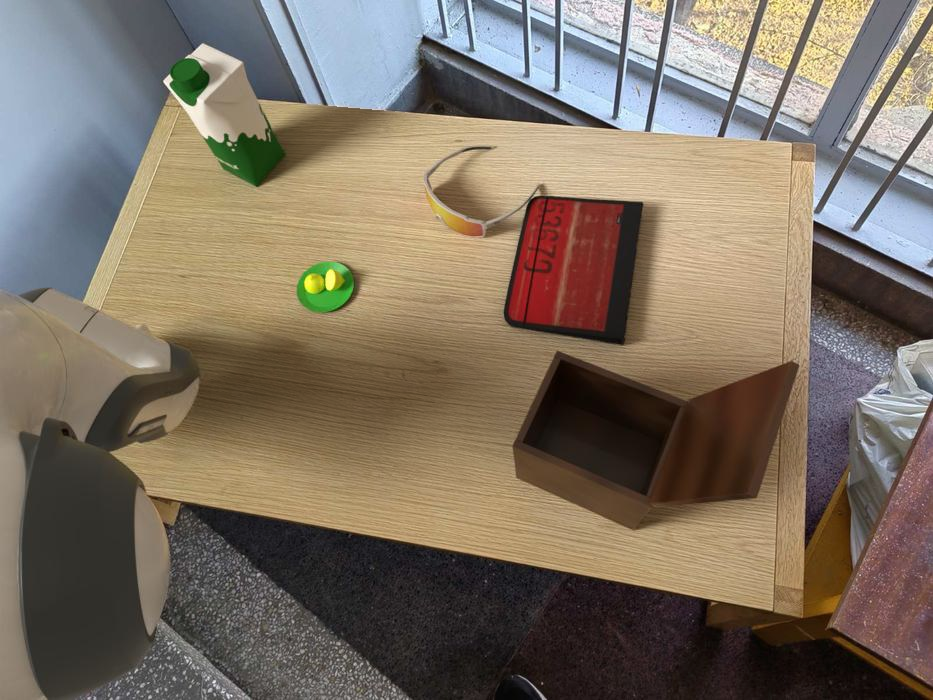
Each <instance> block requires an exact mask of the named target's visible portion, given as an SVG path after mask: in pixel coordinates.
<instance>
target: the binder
mask: <svg viewBox="0 0 933 700" xmlns="http://www.w3.org/2000/svg"><path fill="white" fill-rule="evenodd" d="M643 208H644V201H632V200H615V199H597V198H583V197H570V196H553V195H536V196H533V197H532V198H531V199H530V200H529V201H528V202H527V204H526V208H525V211H524V217H523V220H522V223H521V229H520V231H519V232H520V233H519V237H518V242H517V246H516V249H515V255H514V260H513V264H512V269H511V273H510V277H509V281H508V287H507V292H506V296H505V302H504V307H503V319H504V321H505V323H506V324H507V325H509V326H510V327H512V328H516V329H521V330H527V331H533V332H538V333H545V334H552V335H559V336H565V337H569V338H570V337H571V338H575V339H582V340H589V341H592V342H593V341H594V342H601V343H605V344H606V343H607V344H613V345H619V346H623V345H625V343H626V334H627V324H628V317H629V309H630V303H631V296H632V287H633V282H634V281H633V280H634V274H635V265H636V257H637V251H638V242H639V237H640V229H641V223H642V216H643V211H644V210H643Z"/></svg>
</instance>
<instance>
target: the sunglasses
mask: <svg viewBox="0 0 933 700" xmlns="http://www.w3.org/2000/svg"><path fill="white" fill-rule="evenodd" d="M493 148H494V146H493V145H471V146H466V147H461V148H460V149H458V150H455V151H454V152H452V153H449V154H448V155H446V156H444V157H443V158H441V159H439V160H438V161H436V162H435V163H433V164H432V165H431V166H430V167H429V168H428V169H427V170H426V171H424V173H423V185H424V190H425V194H426V195H425V196H426V199H427V202H428V204H429V207H430V208H431V211H432V213H433V215H434V217H435V218H436V219H438V218H439V220H440V221H441V223H443V225H444V226H445V227H446V228H447V229H448V230H449V231H451V232H453V233H454V234H456V235H459V236H463V237H466V238H473V239H483V238H485V237H486V236H487V233H488V229H489V228H491V227H494V226H498V225H500V224H501V223H503V222H504V221H505V220H506V219H508V218H510V217H511V216H513V215H515V214H516V213H517V212H519V211H520V210H522V209H523V208H524V207H525V206H527V204H528V202H529V201H530V200H531V199H532V198H534V197H535V195H536V193H537V192H538V190H539V187H540V184H541V183H540V182H538V183H537V184H536V186H535V188H534V189H533V191H532V192H531V194H529V196H527V198H526V199H525V200H524V201H522V203H521V204H519V205H518V206H517V207H516V208H515V209H513V210H511V211H509V212H507V213H505V214H503V215H501V216H498V217H496V218H493V219H489V220H487V221H484V220H480V219H475V218H470V217H468V216H467V215H466V214H462V213H460V212H457V211H455V210H454V209H452V208H450V207H449V206H447V205H446V204H445V203H443V202H442V201H441V200H440V199H439V198H438V197H437V196H436V195H435V193H434V192H433V188H432V185H431V182H430V180H429V178H430V177H431V176H432V175H433V174H434V173H435V172H436V171H437V170H438V169H439V168H440V166H441V165H442V164H443V163H445V162H446V161H447V160H450V159H453V158H455V157H457V156H458V155H460V154H463V153H465V152H470V151H478V150H479V151H480V150H483V151H485V150H489V151H490V150H493Z"/></svg>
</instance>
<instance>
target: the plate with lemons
mask: <svg viewBox="0 0 933 700" xmlns="http://www.w3.org/2000/svg"><path fill="white" fill-rule="evenodd" d="M354 284H355V282H354V277H353V274H352V272H351V271H350V269H349V268H348V267H346V266H345V265H343V264H342V263H340V262H336V261H323V262H319V263H316V264H313V265H312V266H310V267H309V268H307V270H305V271H304V272H303V273H302V275H301V276H300V278H299V280H298V282H297V285H296V295H297V296H296V297H297V298H298V299H297V300H298V301H299V302H300V304H301V305H302V306H303V307H304V308H305V309H307V310H309V311H311V312H316V313H328V312H331V311H334V310H337V309H339V308H340V307H342V306H343V305H344V304H345V303H346V302H347V301H348V300H349V298H350V297H351V296H352V294H353V290H354V286H355V285H354Z"/></svg>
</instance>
